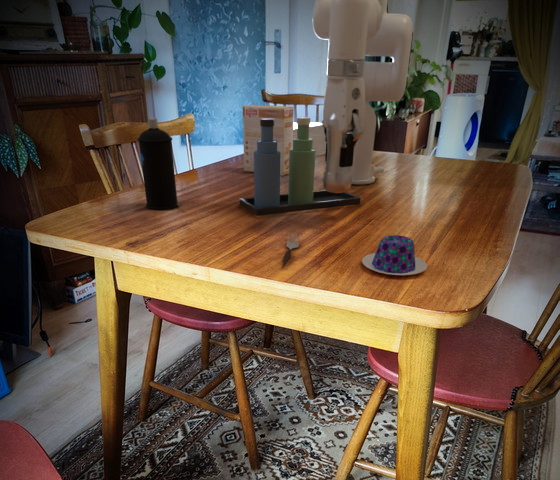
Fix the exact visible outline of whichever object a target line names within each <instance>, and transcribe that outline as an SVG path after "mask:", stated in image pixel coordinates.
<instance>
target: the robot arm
mask: <svg viewBox="0 0 560 480" xmlns="http://www.w3.org/2000/svg"><path fill="white" fill-rule="evenodd" d="M388 1H389V0H314V4H313V10H312V11H313V12H312V18H311V19H312V20H311V21H312V29H313V32H314V34H315V36H316V37H317V38H318V39H320V40H324V41H325V40H326V41H328V47H327V63H326V64H327V66H326V67H327V68H326V84H325V91H324V98H323V112H322V120H321V123H322V126H323V128H324V133H325V136H326V137H325V142H326V148H325V149H326V151H325V152H326V154H324V161H325V162H326V161H327V150H328V148H327V130H326V128H327V127H326V121H327V118H328V116H329V115H330V114H331V113H334V114H335V116H336V118H337V120H338V123H339V131H340V132H341V133H342V146H343V147H341V148H340V161H339V166H340V167H351V174H352V183H351V185H370V184H373V183H375V181H376V177H375V174H383V173H384V171H385V167H384V166H382V165H381V166H375V165H374V164H372V163H373V153H374V147H375V146H374V145H375V138H376V128H377V116H376V113H375V111H374V109H373V108H372V106H371V105H370V102H386V103H387V102H391V103H392V102H393V103H394V102H398V101H400V100H401V99H402V98H403V97H404V95H405V92H406V87H407V81H408V74H409V65H410V57H411V48H412V40H413V22H412V19H411V17H410V16H409V15H408V14H405V13H388V11H387V9H388V8H387V7H388ZM366 57H389V58H391V59H392V61H391V62H390V61H389V62H388V61H387V62H386V61H366ZM348 127H353V129H352V131H347V130H348ZM347 135H350V136H349V138H348V139H347Z"/></svg>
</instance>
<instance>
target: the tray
mask: <svg viewBox="0 0 560 480" xmlns="http://www.w3.org/2000/svg"><path fill="white" fill-rule="evenodd" d="M238 200H239V206H240V207H242V208H244V209H245V210H246V211H248V212H249V213H251V214H253V215H254V216H256V217H260V216H261V217H262V216H268V215H278V214H286V213H294V212H303V211H311V210H319V209H320V210H321V209H329V208H338V207H345V206H346V207H347V206H353V205H354V206H355V205H361V197H359V196H357V195H355V194H352V193H350V192H349V191H348V192H345V193H332V192H328V191H326V190H325V189H323V190H322V189H321V190H313V202H311V203H302V204H293V205H288V193H282V194H281V193H280V206H275V207H266V208H257V207H255V206H254V196H253V197H241V198H239V199H238Z"/></svg>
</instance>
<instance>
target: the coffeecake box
mask: <svg viewBox="0 0 560 480" xmlns="http://www.w3.org/2000/svg"><path fill="white" fill-rule="evenodd" d="M294 109H295V108H294V106H287V105H286V106H283V105H270V104H269V105H268V104H245V105H242V131H243V132H242V135H243V136H242V137H243V171H244V172H249V173H254V151H257V141H258V140H261V126H260V119H263V118H270V119H274V126H273V140H276V141H277V151H279V152H281V157H280V177H283V176H287V175H289V150H290V149H292V148H293V123H294V111H295V110H294Z"/></svg>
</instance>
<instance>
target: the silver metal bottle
mask: <svg viewBox="0 0 560 480" xmlns="http://www.w3.org/2000/svg"><path fill="white" fill-rule="evenodd" d="M326 127H327V128H326V130H327V142H326V143H327V148H328V150H327V161H325V169H324V172H323V177H322V186H323V189H324V190H326V191H328V192H332V193H345V192H348V193H349V191H350V190H351V187H352V184H351V183H352V174H351V167H340V166H339V161H340V148H341V147H343V146H342V133H341V132H340V131H339V123H338V120H337V118H336V116H335V114H334V113H331V114H330V115H329V116H328V118H327V121H326ZM352 129H353V127H348V130H347V131H352ZM349 136H350V135H347V139H348V138H349Z"/></svg>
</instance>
